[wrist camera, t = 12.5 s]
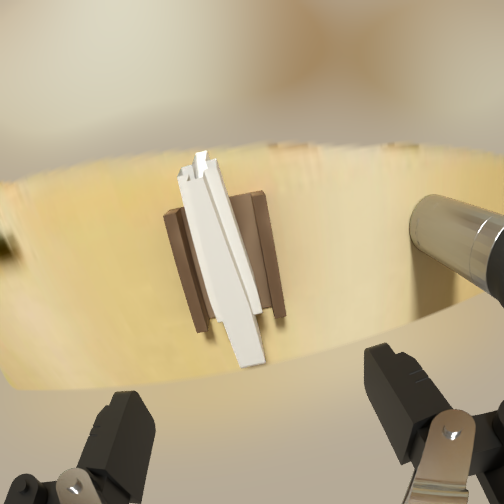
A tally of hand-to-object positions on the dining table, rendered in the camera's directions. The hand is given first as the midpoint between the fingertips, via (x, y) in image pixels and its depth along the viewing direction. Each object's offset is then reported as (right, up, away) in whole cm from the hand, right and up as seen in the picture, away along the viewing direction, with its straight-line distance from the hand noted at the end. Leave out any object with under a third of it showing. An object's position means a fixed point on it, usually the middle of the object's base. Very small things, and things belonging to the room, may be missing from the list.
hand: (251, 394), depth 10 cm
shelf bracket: (-3, +5, +31) cm, 31 cm away
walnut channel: (-3, +4, +31) cm, 32 cm away
